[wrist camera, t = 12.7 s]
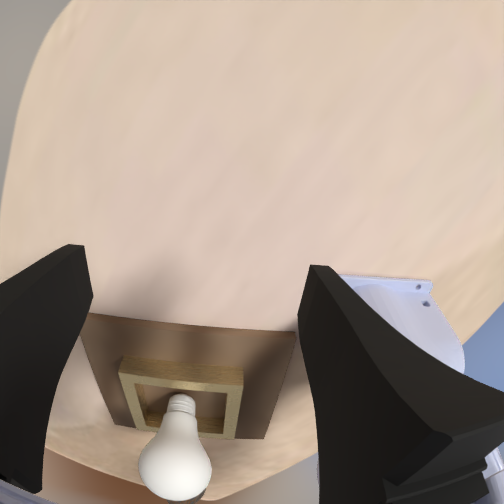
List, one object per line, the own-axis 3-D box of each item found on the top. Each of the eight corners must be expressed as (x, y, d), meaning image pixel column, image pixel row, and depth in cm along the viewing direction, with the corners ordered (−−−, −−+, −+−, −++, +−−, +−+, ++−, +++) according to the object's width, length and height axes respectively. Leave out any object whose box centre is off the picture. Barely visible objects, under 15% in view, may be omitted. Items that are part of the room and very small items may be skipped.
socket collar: (243, 367, 26) (243, 385, 25) (234, 424, 32) (234, 439, 30) (123, 354, 26) (118, 372, 24) (139, 414, 31) (136, 429, 29)
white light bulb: (179, 415, 31) (169, 509, 21) (139, 386, 28) (118, 488, 19) (227, 402, 29) (225, 505, 20) (188, 369, 27) (175, 486, 17)
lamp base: (294, 331, 26) (296, 338, 25) (263, 433, 35) (263, 439, 34) (78, 310, 24) (75, 317, 23) (116, 418, 33) (114, 424, 33)
